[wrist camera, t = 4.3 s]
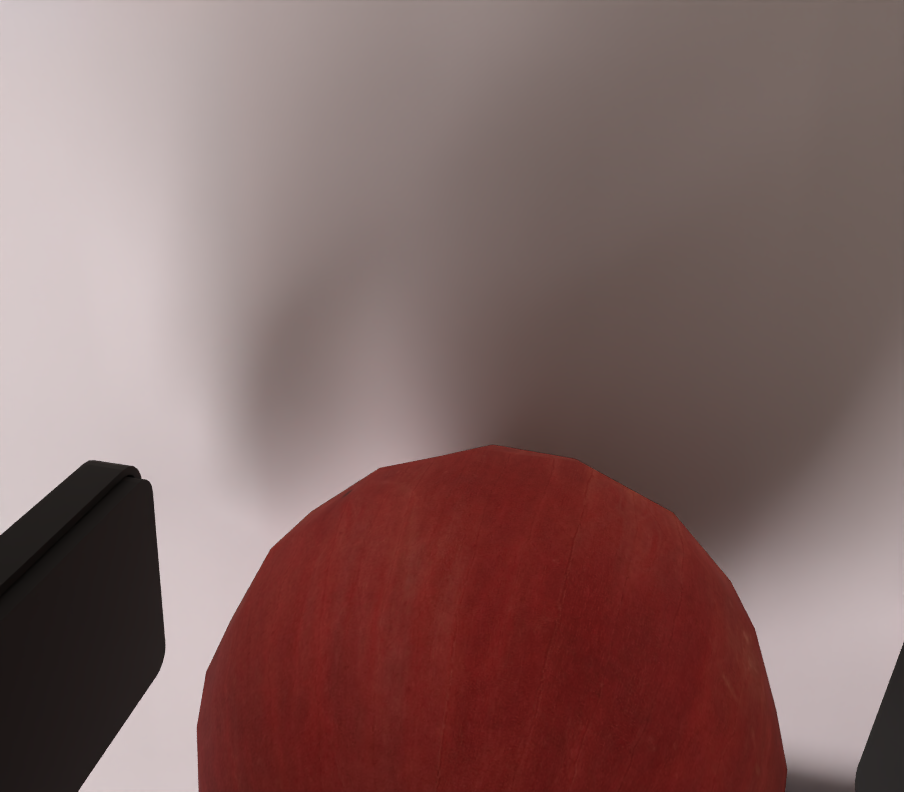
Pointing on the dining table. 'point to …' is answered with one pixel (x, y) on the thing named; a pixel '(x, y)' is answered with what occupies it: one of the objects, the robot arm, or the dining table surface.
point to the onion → (489, 644)
